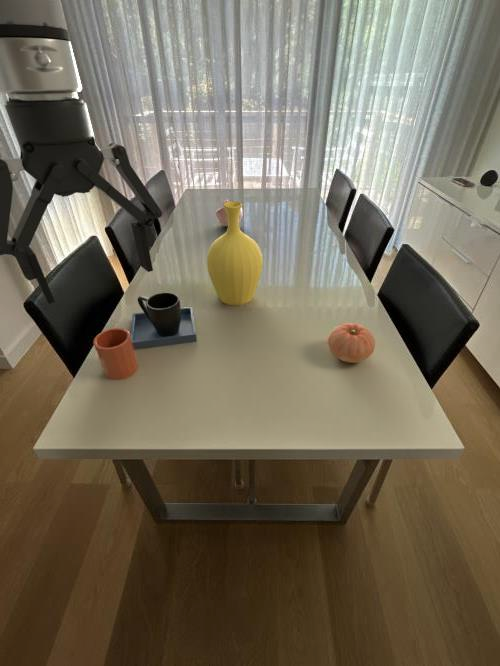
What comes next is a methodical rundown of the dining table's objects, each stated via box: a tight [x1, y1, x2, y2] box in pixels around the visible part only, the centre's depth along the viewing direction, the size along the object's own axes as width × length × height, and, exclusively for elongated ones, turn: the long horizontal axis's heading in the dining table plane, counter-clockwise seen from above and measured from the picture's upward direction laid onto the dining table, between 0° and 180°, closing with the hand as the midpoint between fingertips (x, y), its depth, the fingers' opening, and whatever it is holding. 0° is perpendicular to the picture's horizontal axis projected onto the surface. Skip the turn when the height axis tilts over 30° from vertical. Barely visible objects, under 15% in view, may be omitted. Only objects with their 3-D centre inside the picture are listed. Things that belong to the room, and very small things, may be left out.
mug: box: [137, 292, 182, 337], centre depth 88 cm, size 8×12×10 cm
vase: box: [206, 201, 263, 306], centre depth 96 cm, size 16×16×28 cm
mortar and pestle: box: [215, 199, 244, 228], centre depth 151 cm, size 12×12×12 cm
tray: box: [130, 306, 198, 351], centre depth 90 cm, size 16×13×2 cm
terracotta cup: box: [93, 327, 139, 381], centre depth 77 cm, size 8×8×9 cm
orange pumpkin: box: [327, 322, 376, 364], centre depth 80 cm, size 11×11×8 cm
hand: (101, 282), depth 47 cm, fingers open, 13 cm apart
